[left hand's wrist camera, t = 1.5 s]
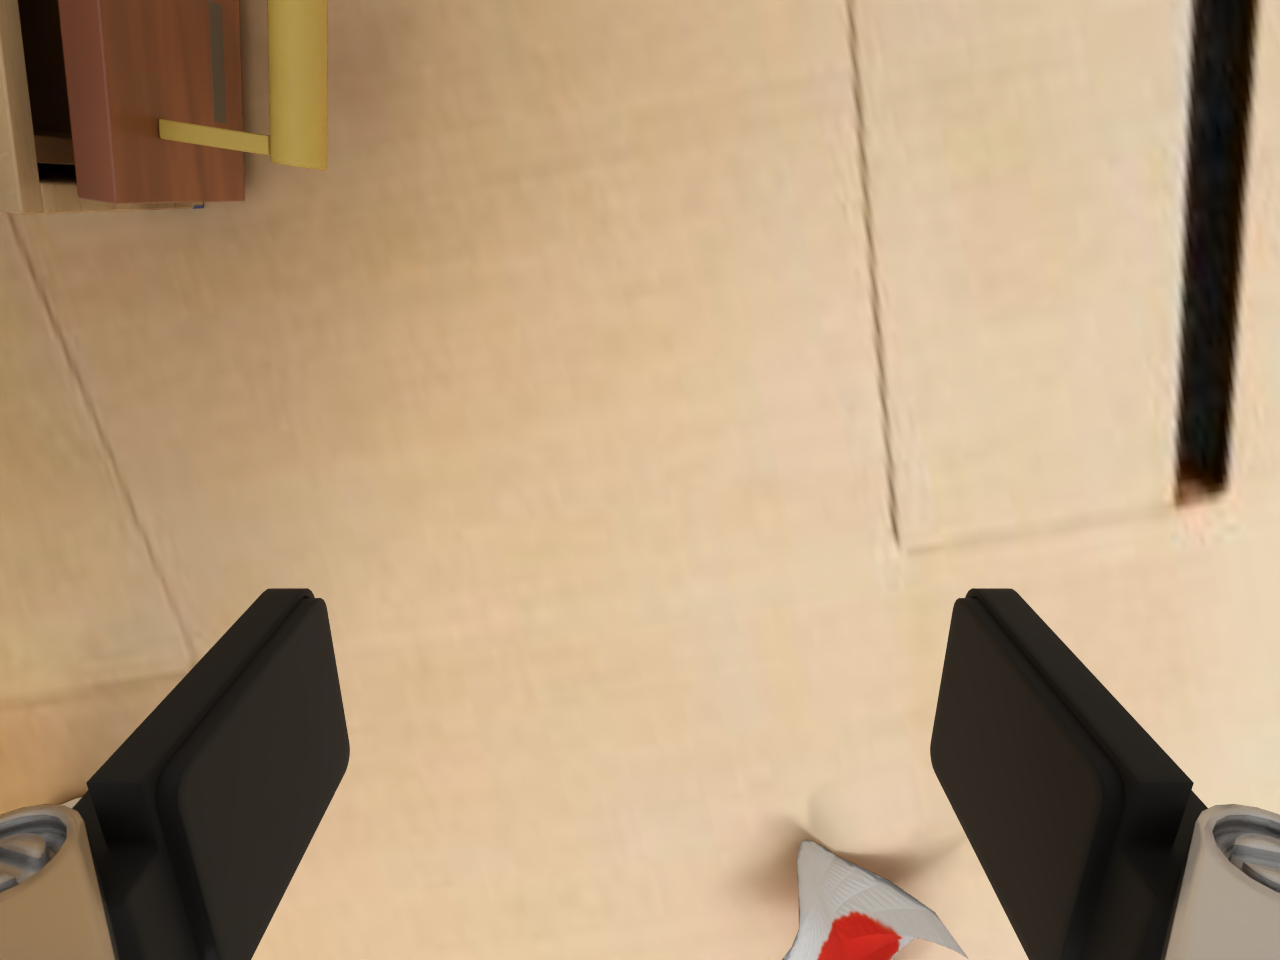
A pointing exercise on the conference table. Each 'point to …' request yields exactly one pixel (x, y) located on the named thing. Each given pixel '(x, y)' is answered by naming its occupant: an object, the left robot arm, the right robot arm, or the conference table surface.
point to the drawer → (169, 94)
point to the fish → (856, 912)
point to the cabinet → (6, 146)
